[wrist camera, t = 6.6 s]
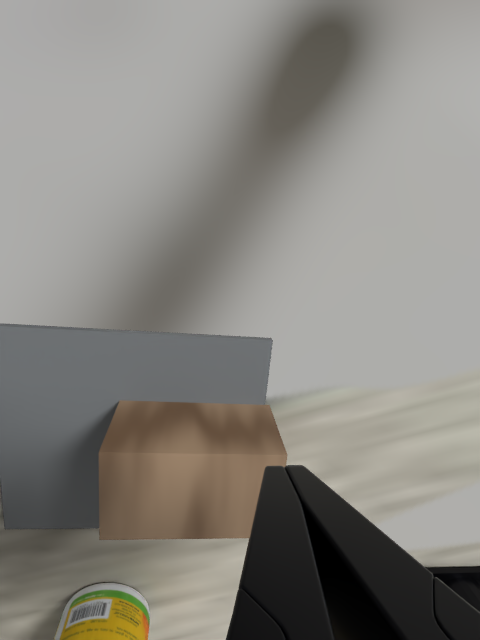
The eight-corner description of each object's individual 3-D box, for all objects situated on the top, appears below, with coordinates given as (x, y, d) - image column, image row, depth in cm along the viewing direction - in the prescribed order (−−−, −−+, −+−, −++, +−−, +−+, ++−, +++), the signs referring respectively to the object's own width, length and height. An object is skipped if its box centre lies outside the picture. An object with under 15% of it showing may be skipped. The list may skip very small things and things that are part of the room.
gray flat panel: (271, 338, 21) (272, 340, 20) (249, 521, 24) (250, 527, 23) (-10, 323, 19) (-14, 325, 18) (8, 523, 22) (4, 529, 22)
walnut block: (119, 400, 20) (269, 404, 21) (119, 473, 21) (260, 474, 22) (98, 452, 16) (287, 454, 17) (99, 539, 17) (275, 537, 18)
